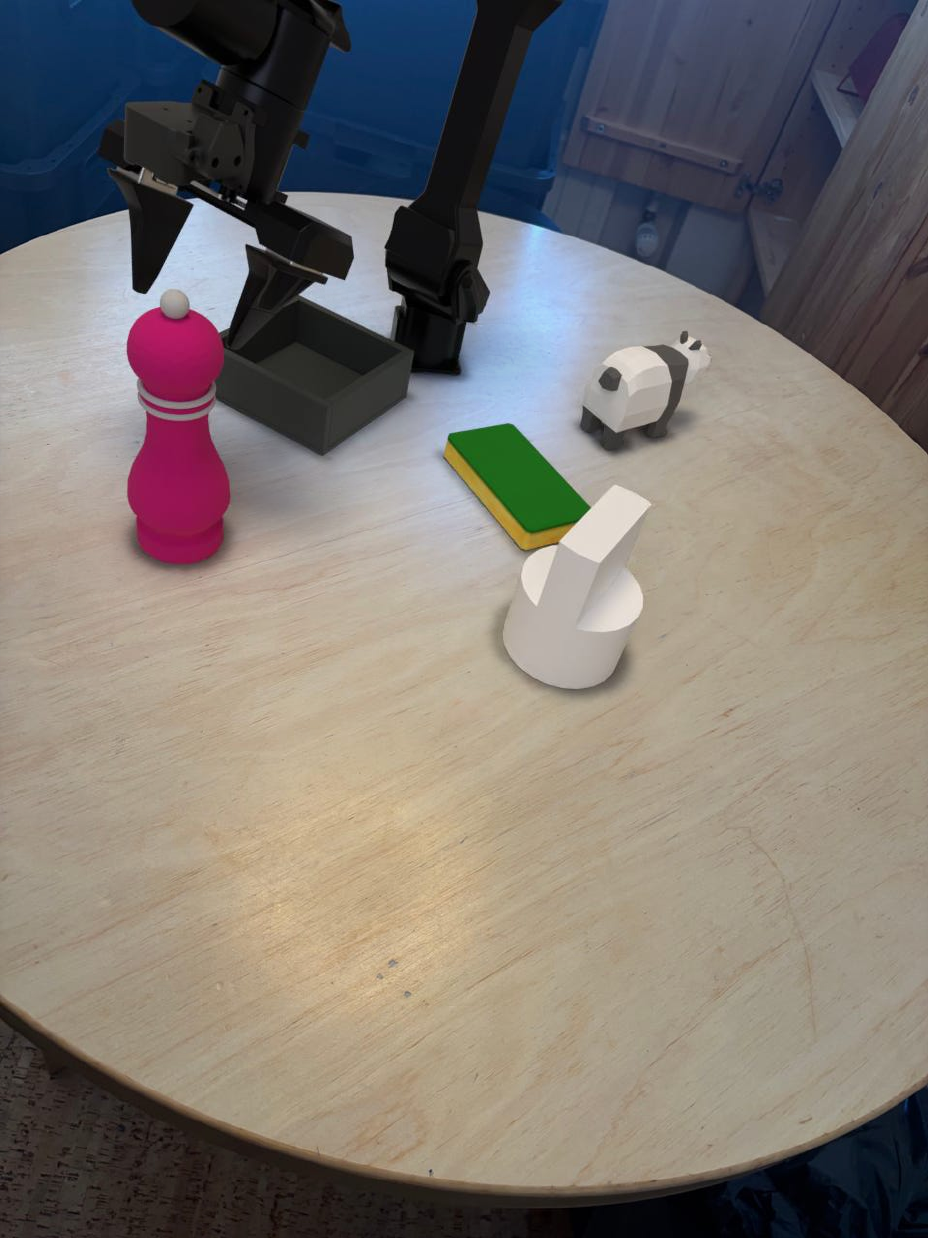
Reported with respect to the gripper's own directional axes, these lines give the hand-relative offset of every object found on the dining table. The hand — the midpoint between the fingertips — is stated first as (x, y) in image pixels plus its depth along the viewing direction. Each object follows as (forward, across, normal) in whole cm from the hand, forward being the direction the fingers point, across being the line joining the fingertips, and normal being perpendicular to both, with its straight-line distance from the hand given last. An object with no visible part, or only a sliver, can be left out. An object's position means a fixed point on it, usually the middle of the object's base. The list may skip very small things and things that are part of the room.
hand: (184, 319), depth 67 cm
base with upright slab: (+10, +32, +13) cm, 36 cm away
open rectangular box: (+5, -3, +22) cm, 23 cm away
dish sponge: (+4, +19, +25) cm, 31 cm away
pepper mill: (+15, +5, +2) cm, 16 cm away
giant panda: (-4, +21, +42) cm, 47 cm away
